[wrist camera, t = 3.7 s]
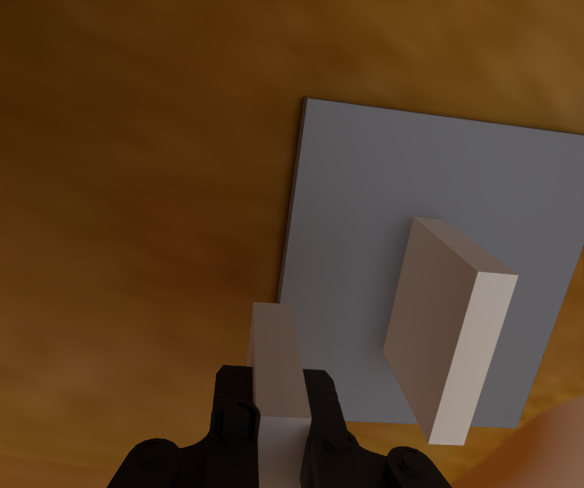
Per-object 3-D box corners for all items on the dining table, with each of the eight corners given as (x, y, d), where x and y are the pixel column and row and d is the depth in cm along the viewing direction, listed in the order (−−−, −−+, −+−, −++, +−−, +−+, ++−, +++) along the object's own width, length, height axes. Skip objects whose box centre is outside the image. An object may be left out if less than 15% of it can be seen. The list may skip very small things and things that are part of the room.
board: (303, 96, 22) (307, 98, 21) (600, 136, 24) (621, 140, 23) (263, 400, 28) (264, 417, 27) (504, 411, 30) (516, 428, 29)
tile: (413, 216, 23) (478, 271, 17) (445, 219, 23) (522, 275, 17) (382, 351, 26) (428, 443, 19) (412, 352, 26) (466, 445, 20)
